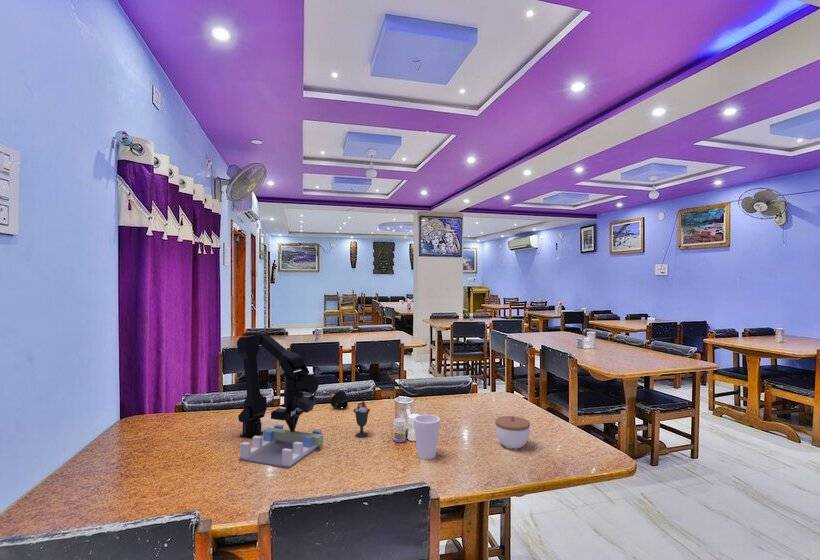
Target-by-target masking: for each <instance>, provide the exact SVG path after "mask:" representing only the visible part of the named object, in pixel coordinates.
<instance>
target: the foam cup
mask: <svg viewBox="0 0 820 560" xmlns="http://www.w3.org/2000/svg"><path fill="white" fill-rule="evenodd" d="M440 427H441V418H440V417H439V416H437V415H435V414H418V415H416V416H414V417H413V428H414V435H415V437H414V438H415V445H416V452H417V457H418V458H419V459H421V460H433V459H435V458H436V455H437V449H438V448H437V447H438V441H439V439H438V438H439V431H440Z"/></svg>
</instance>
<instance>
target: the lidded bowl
mask: <svg viewBox="0 0 820 560" xmlns="http://www.w3.org/2000/svg"><path fill="white" fill-rule="evenodd" d="M494 423H495V433H496V437H497V439H498V441H499V442H500V443H501V444H502V446H503V447H504V446H505V447H508V448H521V447H522V448H523V447H524V446H525V444H526V443H527V442H528V440H529V436H530V426H531V423H530V421H529V420H527V419H526V418H523V417H519V416H515V415H504V416H499V417H497V418H496V419H495V422H494ZM505 447H504V448H505ZM508 448H507V449H508ZM522 448H521V449H522Z"/></svg>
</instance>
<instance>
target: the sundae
mask: <svg viewBox="0 0 820 560" xmlns="http://www.w3.org/2000/svg"><path fill="white" fill-rule="evenodd" d="M365 400H366V398H364V399H363V400H362V402H358V403H357V405H356V408H354V409H353V413H354V414H355V420H356V425H358V427H359V428H360V430H359V432H357V433H356V434H355V437H356V438H366V437H368V435H369V434H368V433H367V432H364V427H365V426H366V425H367V423H368V418H369V413H370V412H371V409H369V408H368V406H367V404H366V403H365Z"/></svg>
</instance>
